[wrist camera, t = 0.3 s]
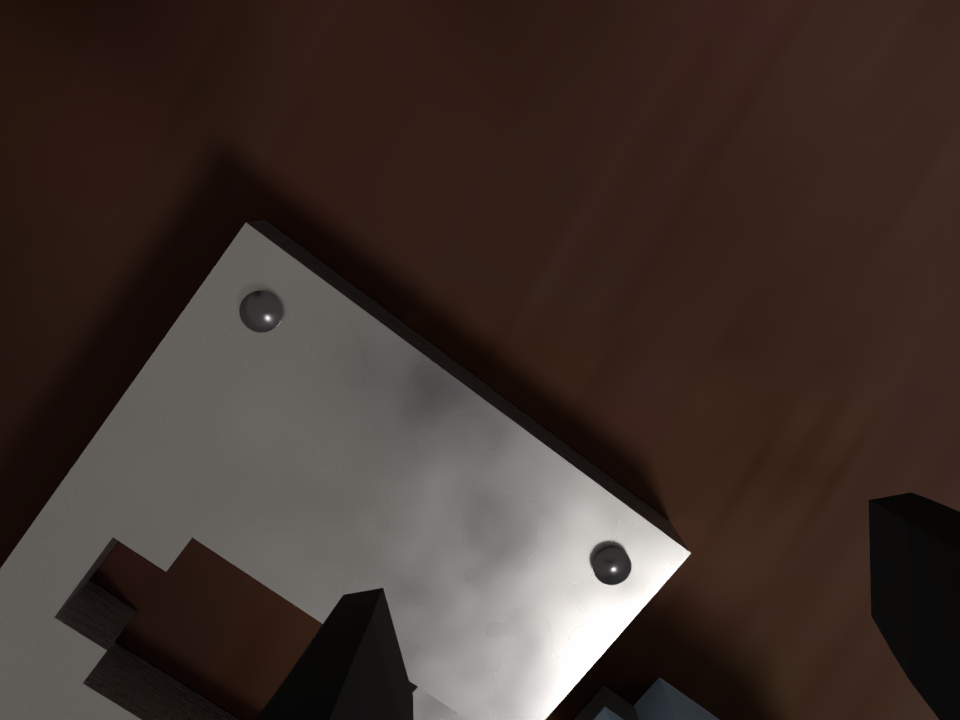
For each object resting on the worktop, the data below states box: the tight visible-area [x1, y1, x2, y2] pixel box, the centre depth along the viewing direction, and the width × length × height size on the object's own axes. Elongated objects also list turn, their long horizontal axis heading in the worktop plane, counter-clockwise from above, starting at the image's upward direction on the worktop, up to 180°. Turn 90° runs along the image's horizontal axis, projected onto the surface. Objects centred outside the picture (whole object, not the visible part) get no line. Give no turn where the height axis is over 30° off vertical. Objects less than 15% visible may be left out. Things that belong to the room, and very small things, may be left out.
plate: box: [0, 220, 691, 720], centre depth 22 cm, size 20×14×2 cm
